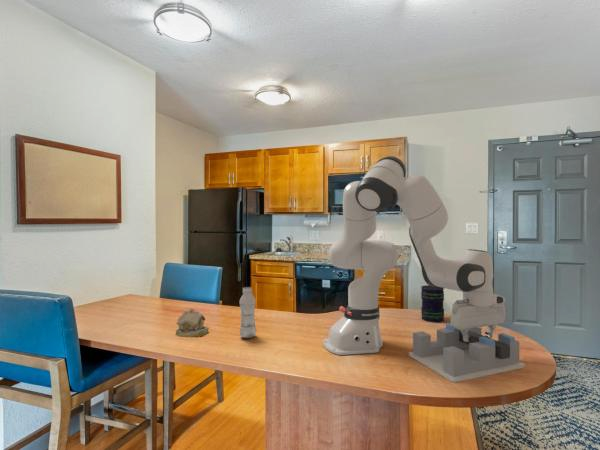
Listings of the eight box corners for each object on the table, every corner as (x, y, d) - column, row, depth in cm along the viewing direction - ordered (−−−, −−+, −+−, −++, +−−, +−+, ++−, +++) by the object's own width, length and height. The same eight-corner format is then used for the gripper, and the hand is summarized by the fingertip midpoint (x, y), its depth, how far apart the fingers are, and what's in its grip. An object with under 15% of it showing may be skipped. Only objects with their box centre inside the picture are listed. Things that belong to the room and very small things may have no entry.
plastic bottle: (259, 335, 132) (258, 286, 132) (250, 341, 126) (249, 290, 126) (246, 333, 135) (245, 285, 135) (236, 339, 129) (235, 288, 129)
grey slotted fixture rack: (453, 382, 92) (453, 349, 92) (408, 355, 111) (408, 327, 111) (524, 367, 101) (524, 337, 101) (472, 344, 120) (472, 319, 120)
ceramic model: (169, 335, 134) (169, 311, 134) (186, 327, 145) (186, 304, 145) (199, 338, 130) (198, 314, 130) (214, 329, 141) (213, 306, 141)
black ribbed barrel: (421, 321, 148) (420, 288, 148) (421, 315, 158) (421, 284, 157) (444, 323, 145) (444, 290, 145) (443, 317, 154) (443, 286, 154)
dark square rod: (501, 359, 98) (501, 347, 98) (450, 337, 117) (450, 327, 117) (510, 357, 99) (510, 345, 99) (458, 335, 118) (458, 326, 118)
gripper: (460, 303, 102) (460, 347, 102) (509, 297, 108) (509, 338, 108) (445, 298, 108) (445, 340, 108) (492, 293, 114) (492, 332, 114)
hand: (478, 339), depth 108 cm, fingers open, 8 cm apart
